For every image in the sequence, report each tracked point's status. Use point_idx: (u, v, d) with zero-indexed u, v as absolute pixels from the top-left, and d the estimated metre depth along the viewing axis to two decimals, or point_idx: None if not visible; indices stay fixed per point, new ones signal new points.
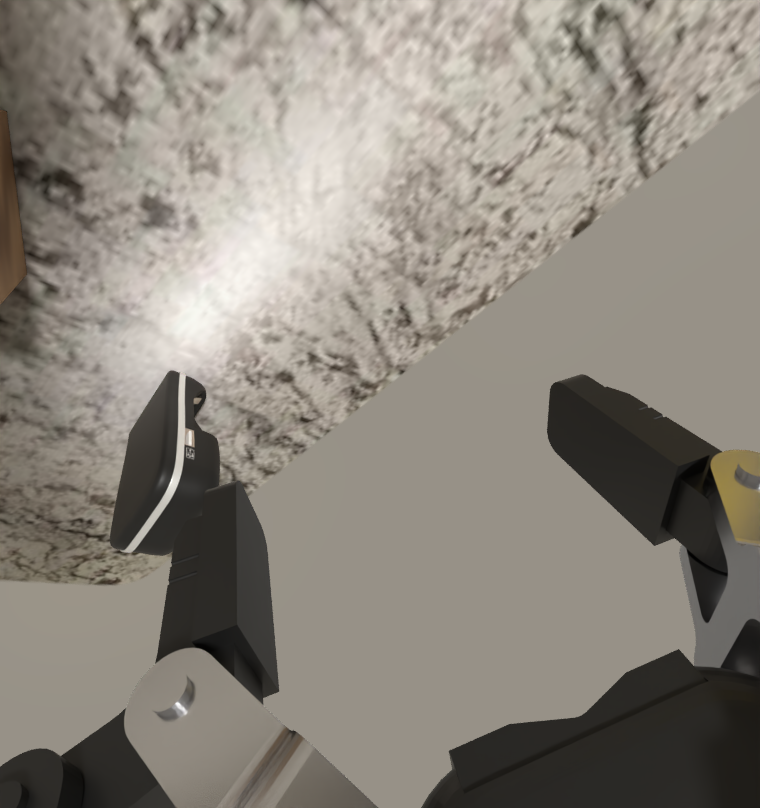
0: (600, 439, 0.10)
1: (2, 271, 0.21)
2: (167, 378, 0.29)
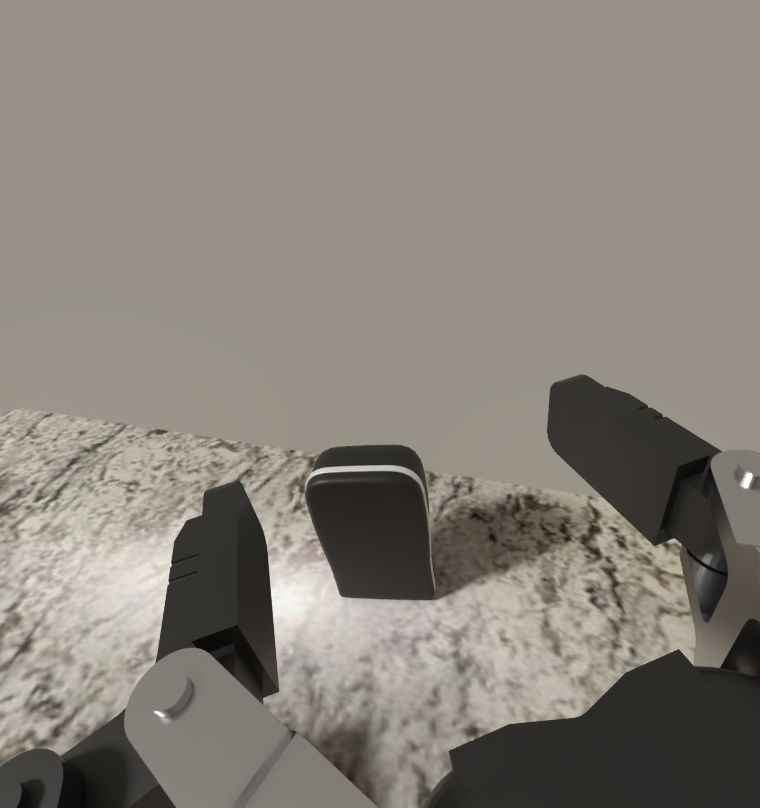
0: (600, 439, 0.10)
1: None
2: (340, 589, 0.29)
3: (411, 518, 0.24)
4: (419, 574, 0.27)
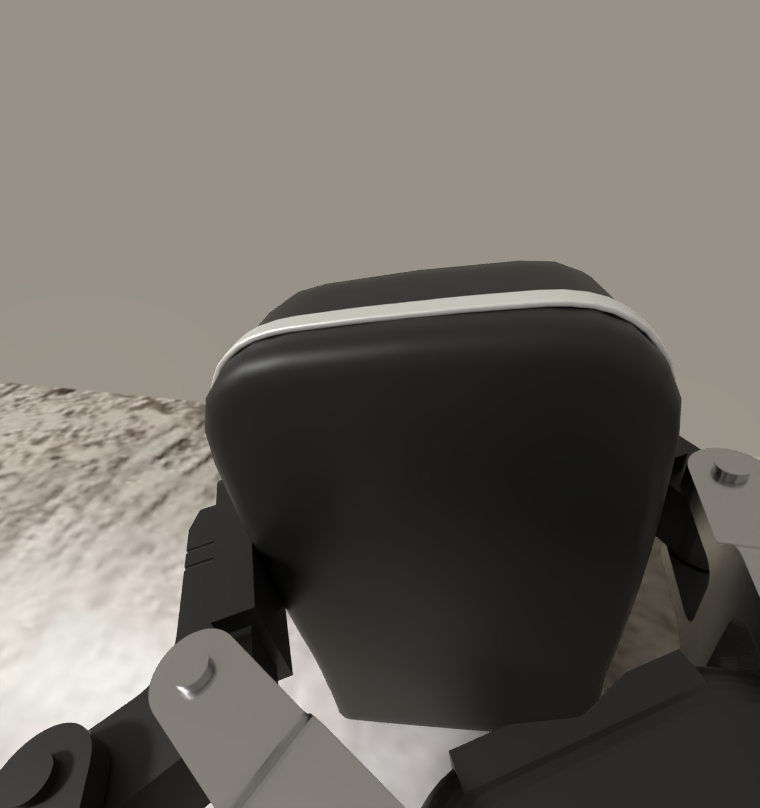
0: None
1: None
2: (341, 705, 0.11)
3: (615, 515, 0.06)
4: (576, 685, 0.09)
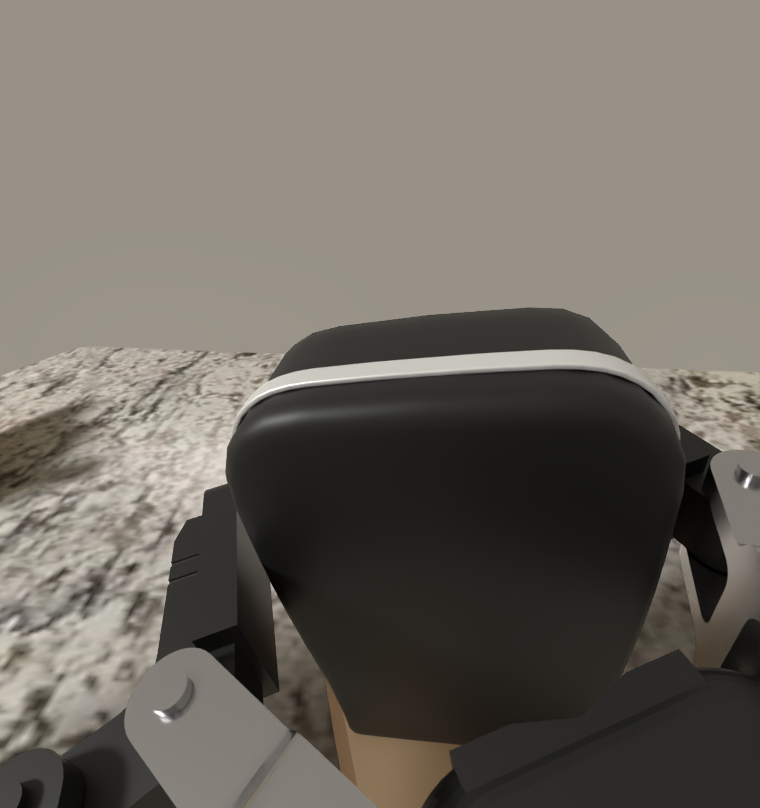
0: None
1: None
2: (351, 722, 0.11)
3: (621, 560, 0.06)
4: (581, 709, 0.09)
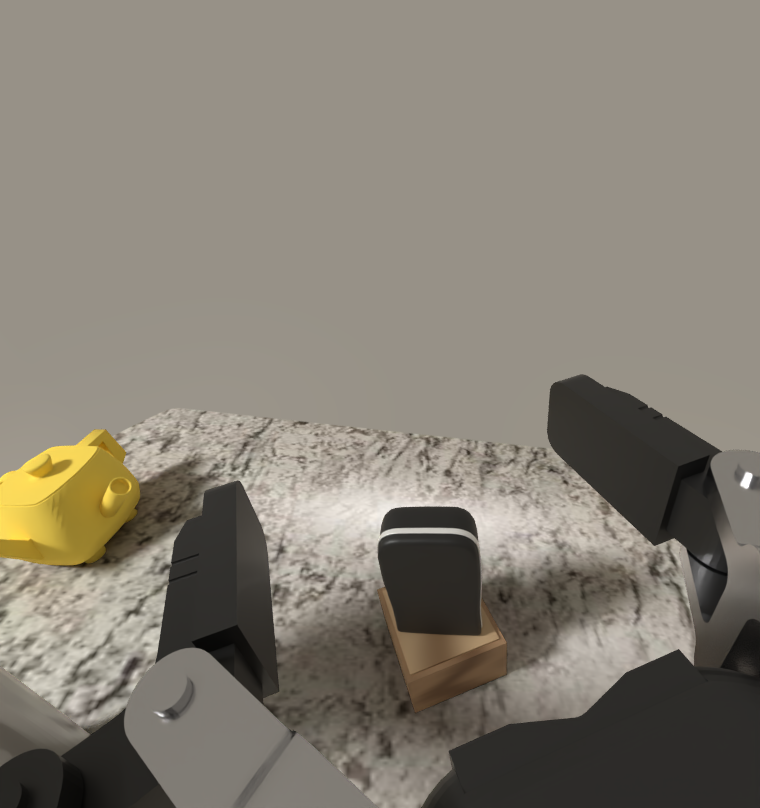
0: (600, 439, 0.10)
1: None
2: (399, 626, 0.33)
3: (468, 572, 0.28)
4: (471, 615, 0.31)
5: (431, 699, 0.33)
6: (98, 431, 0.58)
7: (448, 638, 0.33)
